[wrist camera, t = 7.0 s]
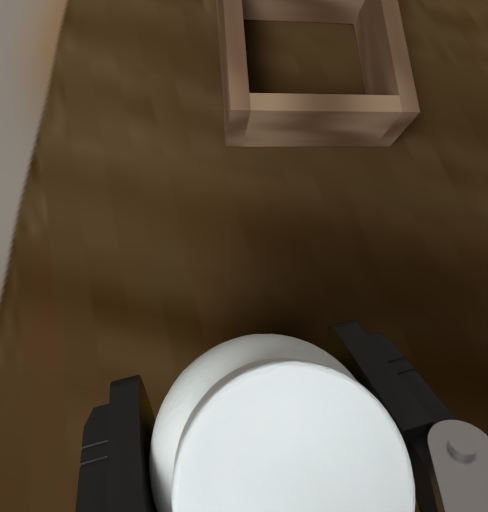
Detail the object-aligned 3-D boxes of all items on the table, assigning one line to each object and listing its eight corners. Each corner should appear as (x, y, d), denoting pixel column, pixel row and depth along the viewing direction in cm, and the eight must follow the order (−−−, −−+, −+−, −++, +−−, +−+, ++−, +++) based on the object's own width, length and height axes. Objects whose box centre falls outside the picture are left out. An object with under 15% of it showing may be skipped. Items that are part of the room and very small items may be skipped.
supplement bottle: (254, 528, 15) (340, 802, 6) (140, 432, 15) (43, 539, 6) (336, 402, 16) (513, 453, 7) (229, 317, 17) (262, 260, 7)
